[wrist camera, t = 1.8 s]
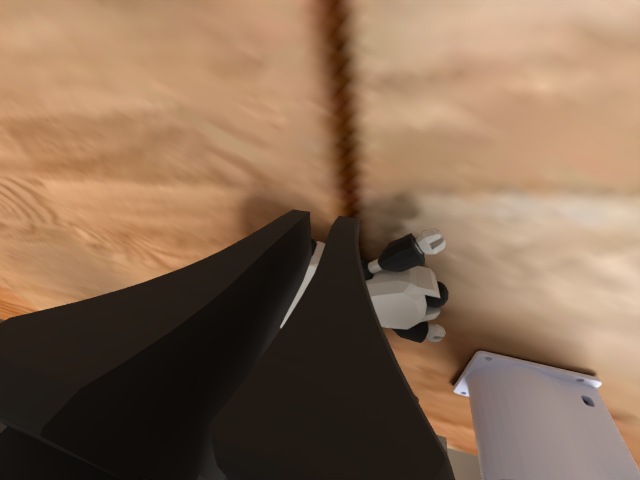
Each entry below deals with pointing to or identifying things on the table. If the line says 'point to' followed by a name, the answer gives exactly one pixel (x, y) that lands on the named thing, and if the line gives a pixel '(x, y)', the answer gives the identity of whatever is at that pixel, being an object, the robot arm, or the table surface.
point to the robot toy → (399, 286)
